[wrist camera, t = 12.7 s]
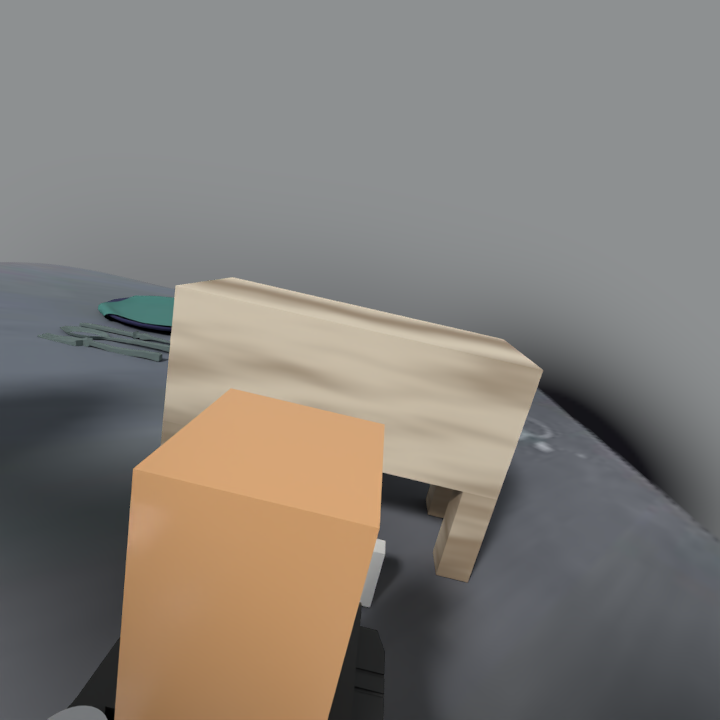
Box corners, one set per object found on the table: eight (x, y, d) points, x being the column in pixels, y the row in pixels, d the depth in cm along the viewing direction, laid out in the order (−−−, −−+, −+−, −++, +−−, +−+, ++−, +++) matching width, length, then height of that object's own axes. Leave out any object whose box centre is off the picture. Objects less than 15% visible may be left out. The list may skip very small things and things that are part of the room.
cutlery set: (249, 324, 77) (251, 312, 76) (172, 372, 48) (173, 354, 47) (146, 302, 76) (147, 290, 76) (5, 337, 48) (5, 318, 47)
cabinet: (467, 582, 25) (543, 370, 21) (155, 506, 25) (175, 285, 22) (447, 494, 34) (498, 335, 30) (218, 439, 35) (240, 276, 31)
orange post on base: (323, 1317, 7) (677, 723, 3) (-105, 1196, 7) (-263, 490, 3) (371, 592, 23) (442, 335, 19) (232, 558, 23) (274, 297, 19)
